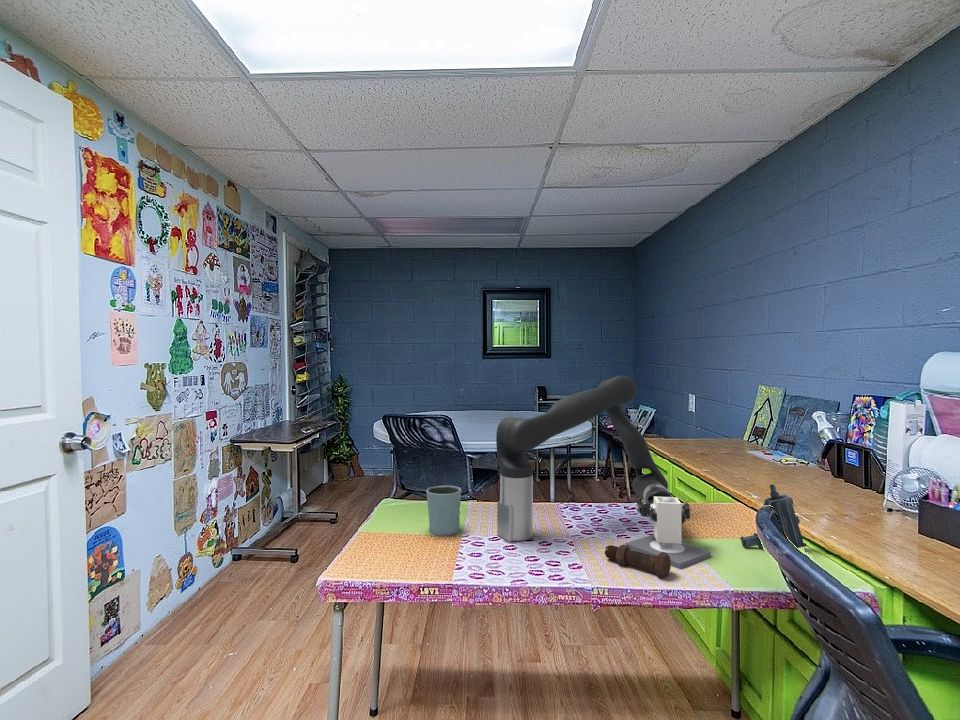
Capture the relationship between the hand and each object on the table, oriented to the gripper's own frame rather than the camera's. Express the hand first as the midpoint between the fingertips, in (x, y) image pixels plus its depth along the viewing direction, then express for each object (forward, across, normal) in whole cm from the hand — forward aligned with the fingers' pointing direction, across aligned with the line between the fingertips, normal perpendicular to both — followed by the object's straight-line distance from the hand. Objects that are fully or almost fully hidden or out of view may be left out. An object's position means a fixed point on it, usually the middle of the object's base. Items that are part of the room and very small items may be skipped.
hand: (669, 518), depth 125 cm
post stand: (-2, 0, +9) cm, 10 cm away
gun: (-10, +28, +10) cm, 31 cm away
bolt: (+9, -9, +10) cm, 16 cm away
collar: (-2, 0, +6) cm, 6 cm away
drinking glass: (-7, -61, +9) cm, 62 cm away
